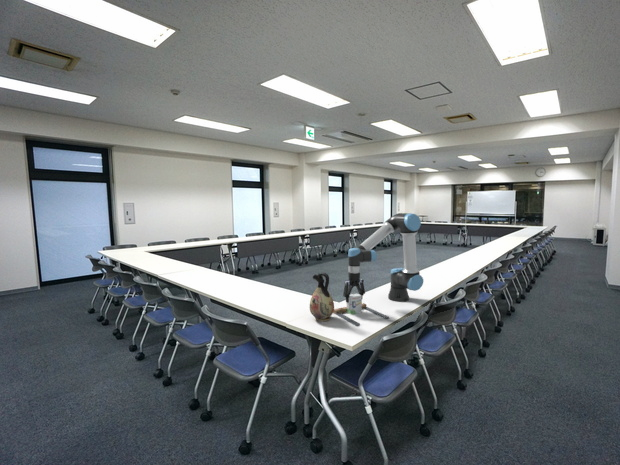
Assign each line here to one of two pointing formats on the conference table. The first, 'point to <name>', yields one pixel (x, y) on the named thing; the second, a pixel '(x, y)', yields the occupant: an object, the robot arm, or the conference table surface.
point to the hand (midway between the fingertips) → (354, 305)
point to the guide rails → (357, 322)
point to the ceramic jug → (321, 299)
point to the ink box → (355, 304)
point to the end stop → (345, 309)
